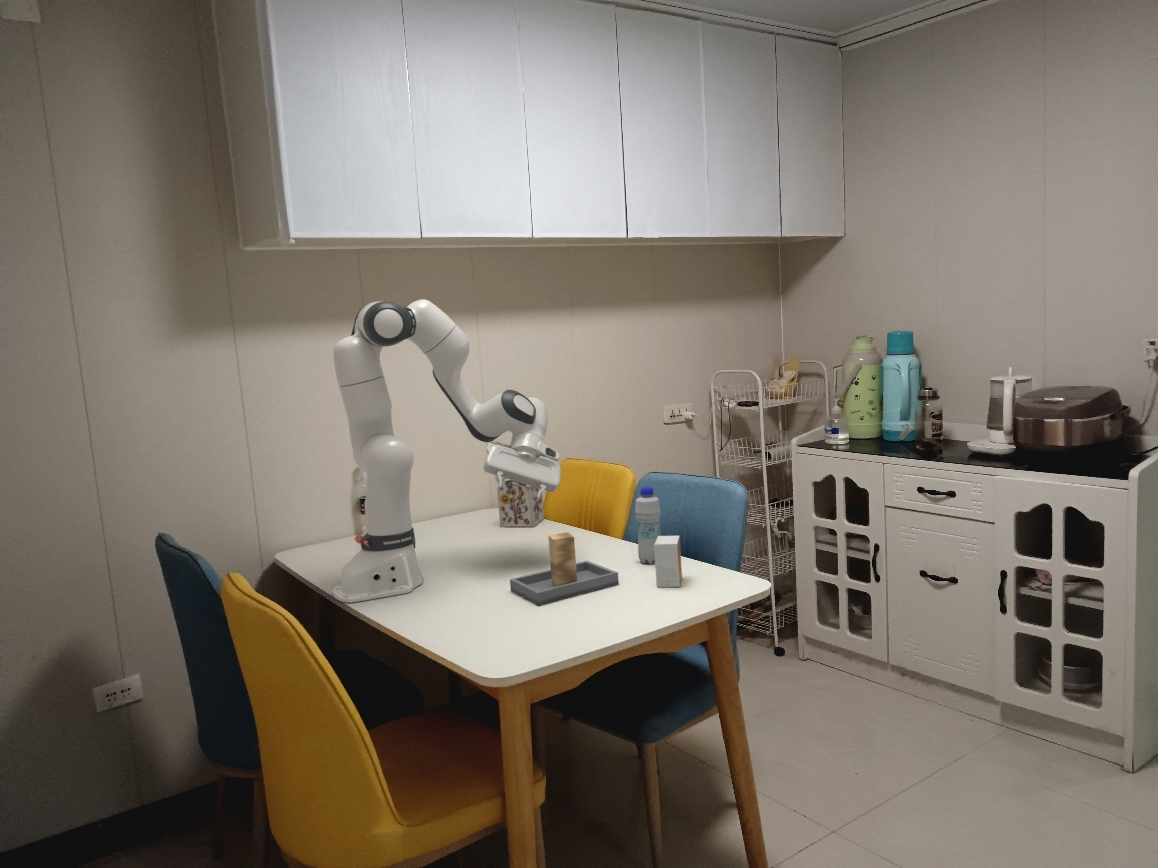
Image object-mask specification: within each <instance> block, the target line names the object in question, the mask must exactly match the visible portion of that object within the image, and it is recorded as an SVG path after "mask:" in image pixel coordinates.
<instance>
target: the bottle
mask: <svg viewBox="0 0 1158 868" xmlns="http://www.w3.org/2000/svg"><path fill="white" fill-rule="evenodd" d="M639 491H640V496H639V497H637V498H636V499H635V504H634V505H635V506H634V507H635V510H634V513H635V518H636V525H637V541H638V542H637V544H638V545H637V546H638V547H637V550H638V551H637V555H638V559H639V561H640V562H641V563H643V564H645V563H646V564H647V562H648V564H649V565H652V564H653V562H654V561H655V552H654V544H655V542H656V540H657V536H662V534H661V532H662V531H661V519H660V518H661V516H662V515H661V512H662V511H661V505H660V499H659V498H658V497H657V496H654V493H655V492H654V488H653V487H651V486H643V487H641V488H640V490H639Z"/></svg>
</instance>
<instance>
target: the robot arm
mask: <svg viewBox="0 0 1158 868" xmlns="http://www.w3.org/2000/svg"><path fill="white" fill-rule="evenodd" d="M405 340H409V341H410V342H412V343H413V344H414V345H416V346H417V348H418V349H419V350H420V351H421V352H422V354H424V355H425V357H426V358H427V359H428V360H429V362H430V364H431V366H432V375H433V378H434V380H435V382H436V383H437V384H436V385H438V386H439V389H440V390H441V391H442V392H443V394H444V396H446V398H447V399H448V400H449V402H450V403H451V405H452V406H453V407H454V409H455V410H456V412H457V413H458V414H459V416H460V417H461V418H462V420H463V422H464V424H465V425H466V428H467V430H468V431H469V433H470V435H471V436H472V437H473V438H475V439H476V440H478V441H480V442H483V443H488V444H487V446H486V453H487V455H486V458H485V460H484V463H483V466H482V468H483V470H484V472H486V473H488V474H491V475H494V476H495V477H494V478H495V481H496V484H497V488H496V489H497V490H498V489H499V490H502V491H503V489H504V487H505V482H503V481H502V477H504V478H507V479H510V480H514V481H517V482H520V483H524V484H527V485H530V486H533V487H537V488H538V491H539V492H536V491H535V492H534V494H533V498H532V500H535V501H538V500H539V498H540V495H541V494H542V495H543V493H544V492H545V491H547V492H550V493H555V492H556V491H557V490H558V488H559V487H560V484H561V476H562V474H561V473H562V472H561V471H562V468H561V465H560V463H559V461H560V458H561V455H560V453H559V452H558V451H556V450H554V449H553V448H551V447H550V446H548V445H547V444H546V443H545V440H544V439H545V436H546V434H547V429H548V424H549V422H548V421H549V418H548V417H549V414H548V409H547V406H546V404H545V403H544V402H543V400H541V399H539V398H537V397H531V396H529V397H526V396H525V395H524V394H523V393H521V392H519V391H516V390H514V389H506V390H504V391H502V392H500V393H499V394H497V395H495V396H494V397H492V398H491V399H489V400H487V401H486V402H484V403H480V402H478V401H476V399H475V398H474V397H473V395H472V394H471V392H470V391H469V390H468V388H467V387H466V385H465V384H464V383H463V381H462V378H461V371H462V369H463V367H464V365H466V364H465V363H466V361H467V360H468V358H469V353H470V343H469V342H470V341H469V339H468V337H467V335H466V334H465V332H464V331H463V330H462V329H461V328H460V327H459V326H458V325H457V324H456V323H455V322H454V320H452V319H451V317H449V315H448V314H446V313H445V312H444V311H443V310H442V309H441V308H439V307H438V306H437V305H435V304H434V303H433V302H432V301H430V300H428V299H425V298H424V299H417V300H415V301H413V302H411V303H409V305H408V306H404V305H401V304H398V303H395V302H392V301H384V300H375V301H373V302H369V303H368V304H366V305H364V306H363V307H361V308H360V309H359V311H358V312H357V313H356V316H355V319H354V323H353V327H352V331H351V335H349V336H346V337H344V338H342V339H340V340H339V341H338V342H336V343H335V345H334V347H333V363H334V369H335V376H336V379H337V383H338V388H339V391H340V394H341V395H340V396H341V398H342V402H343V405H344V409H345V412H346V416H347V421H348V428H349V438H350V443H351V448H352V455H353V459H354V462H355V464H356V465H357V467H358V468H359V469H360V470H361V471H362V472H364V473H366V494H365V500H364V511H365V521H366V522H365V523H366V531H367V532H366V533H365V534H364V535H361V534H356V535H355V537H354V540H355V543H357V544H360V548H361V549H360V550H359V551H358V552H357V553H356V554H355V555H354V556H353V557H352V558H350V560H349V561H348V562H347V563H346V564H345V565H344V566H343V567H342V570H341V573H340V584H339V585H335V586H334V587H333V588H332V593H331V594H332V596H333V598H334V599H335V600H338V601H339V602H343V603H358V602H362V601H369V600H374V599H381V598H385V597H391V596H399V595H403V594H409V593H411V592H412V591H413V590H414V589H415V588H416V587H419V586H421V585H422V583H423V582H424V578H423V575H422V571H421V570H420V567H419V563H418V559H417V555H416V544H417V543H416V535H415V530H414V527H413V525H412V517H411V516H412V515H411V506H410V503H411V502H410V491H411V490H410V489H411V476H412V468H413V466H414V461H415V460H414V453H413V451H412V449H411V447H410V446H409V445H408V444H407V442H406V441H404V439H402V438H401V437H398V436H397V435H395V433H394V427H393V419H392V417H393V416H392V410H393V406H392V405H393V404H392V401H391V398H390V394H389V390H388V385H387V383H386V379H385V376H384V371H383V367H382V366H381V360H380V358H381V356H380V355H381V351H382V349H383V348H386V347H392V346H395V345H397V344H400V343H402V342H403V341H405ZM508 431H509V432H510V433H511V434H512V436H511V441H510V444H507V443H501V442H499V441H497V438H499V437H500V436H501V435H502V436H503V434H505V433H507V432H508ZM495 440H496V441H495Z"/></svg>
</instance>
